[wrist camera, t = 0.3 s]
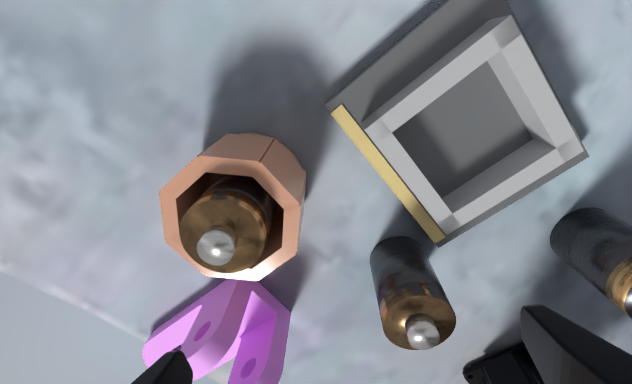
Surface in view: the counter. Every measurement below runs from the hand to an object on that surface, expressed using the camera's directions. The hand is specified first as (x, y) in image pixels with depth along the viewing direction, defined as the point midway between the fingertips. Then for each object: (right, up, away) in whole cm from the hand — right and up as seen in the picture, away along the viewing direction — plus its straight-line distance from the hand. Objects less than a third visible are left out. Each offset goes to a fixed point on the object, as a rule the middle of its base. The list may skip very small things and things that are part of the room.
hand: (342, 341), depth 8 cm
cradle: (+7, +8, +11) cm, 15 cm away
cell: (+5, -1, +15) cm, 16 cm away
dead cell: (-5, +4, +12) cm, 14 cm away
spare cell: (+17, +1, +13) cm, 22 cm away
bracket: (-10, -7, +18) cm, 22 cm away
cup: (-5, +4, +13) cm, 14 cm away
